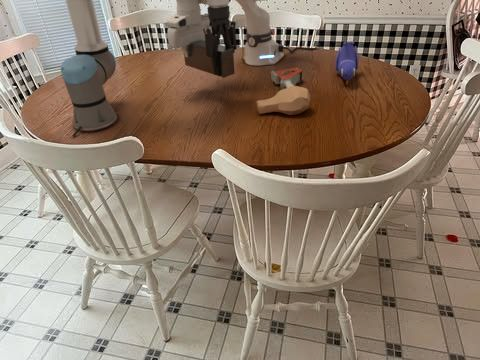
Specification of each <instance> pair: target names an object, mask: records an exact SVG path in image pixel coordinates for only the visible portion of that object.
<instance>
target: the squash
mask: <svg viewBox="0 0 480 360" xmlns="http://www.w3.org/2000/svg"><path fill="white" fill-rule="evenodd" d="M311 98H312V97H311V95H310V90H309V89H307V88H306V87H302V86H298V85H294V86H292V87H289V88H287V89H280V90H279V91H277V92H276V94H275V95H274V96H272V97H271V98H265V99H257V100H256V102H255V103H256V107H257V109H256V110H257V113H258V114H259V115H263V114H266V113H273V112H275V113H282V114H284V115H287V116H295V115H300V114H301V113H303V112H305V111H306V110H308V109H309V107H310V102H311Z"/></svg>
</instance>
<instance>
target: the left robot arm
mask: <svg viewBox="0 0 480 360" xmlns="http://www.w3.org/2000/svg"><path fill="white" fill-rule="evenodd" d="M65 4H66V6H67V10H68V14H69V17H70V21H71V24H72V28H73V31H74V36H75V38H76V42H77V43H76V45H75V46H74V51H75V55H73V56H70V57H68V58H66V59H64V60H63V61H62V62H61V64H60V66H59V68H60V72H61V77H62V80H63V82H64V84H65V87H66V90H67V93H68V96H69V99H70V101H71V104H72V108H73V114H72V117H73V118H72V119H73V125H74V128H75V129H76V131H75V132H74V133H73V134H72V137H73V138H74V137H76V135H78V133H79V132H84V133H92V132H99V131H102V130H105V129H107V128H110V127H111V126H113V125H115V124H116V122H117V121H118V116H117V114H116V111H115V110H114V108H113V107H112V105H111V103H110V102H109V101H108V99H107V96H106V92H105V89H104V87H103V86H104V85H105V84H106V83H107V82H108V80H110V79H111V78H112V77H113V75H114V74H115V71H116V68H117V61H116V58H115V55H114V54H113V52H112V51H110V48H109V45H108V43H107V42H106V41H104V40H103V38H102V34H101V29H100V24H99V22H98V17H97V13H96V8H95V4H94V0H65ZM229 4H230V2H229V0H207V6H208V7H207V14H208V18H209V20H210V23H209V27H207V28H203V31H204V34H205V44H206V56H207V57H210V58H211V60H212V66H213V67H214V74H213V75H214V76H217V77H220V64H219V58H218V57H217V54H218V45H220V39H221V36H222V40H223V43H224V46H227V47H231V48H233V54H235V53H236V50H238V49H237V48H238V47H237V46H238V45H237V34H236V25H237V23H236V21H233V20H230V17H231V13H230V12H231V11H230V6H229ZM211 30H212V31H211ZM211 33H212V34H211Z"/></svg>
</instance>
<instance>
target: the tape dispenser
mask: <svg viewBox="0 0 480 360" xmlns="http://www.w3.org/2000/svg"><path fill="white" fill-rule="evenodd" d="M290 71H291V72H290ZM286 72H290V73H288V74H286ZM270 75H271V77H270V78H271V82H274V84H275V85H280V86H279V87H280V90H283V89H287V88H289V87H292V86H297V84H300V83H301V82H302V81H303V80H302V79H303V70H302V69H301V68H300V67H292V68H287V69H280V70H271V71H270Z"/></svg>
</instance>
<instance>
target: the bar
mask: <svg viewBox="0 0 480 360" xmlns="http://www.w3.org/2000/svg"><path fill="white" fill-rule="evenodd" d="M186 50H187V52H190V57H185V55H184V54H183V57H184V58H183V59H184V65H185V66H187V67H190V68H194V69H196V70H199V71H201V72H205V73H207V74H211V75H214V67H213V66H212V60H211V58H210V57H207V56H206V44H205V41H203V40H199V41H196V42H193V43H190V45H187V49H186ZM217 57H218V58H219V64H220V76H219V77H220V78H222V79H224V78H227V77H230V76H232V75H235V74H236V72H235V71H236V70H235V60H234V59H235V58H234V57H235V56H234V53H233V48H231V47H227V46H225V45H224V44H219V45H218V54H217Z"/></svg>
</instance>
